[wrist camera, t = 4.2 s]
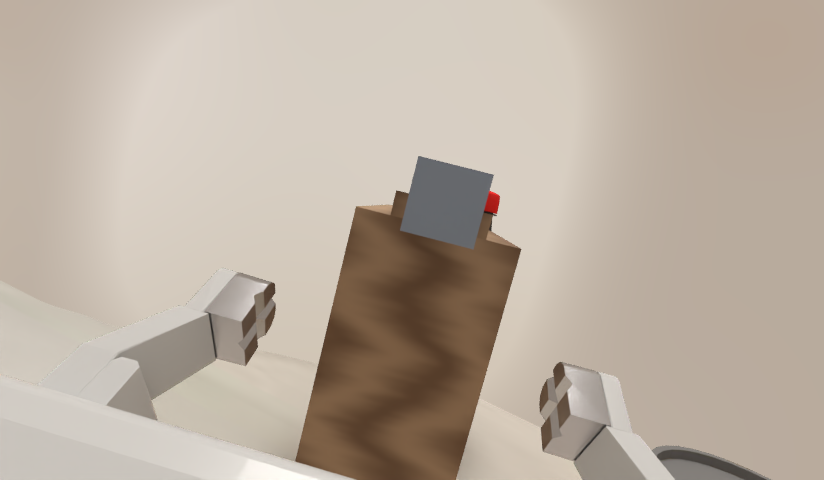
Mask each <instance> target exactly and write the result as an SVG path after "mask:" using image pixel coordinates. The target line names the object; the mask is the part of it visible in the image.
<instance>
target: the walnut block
mask: <svg viewBox="0 0 824 480" xmlns="http://www.w3.org/2000/svg"><path fill="white" fill-rule="evenodd" d="M408 196H409V194H408V193H404V192H401V191H396V195H395V198H394V203H393V206H392V205H376V206H357V207H356V209H355V214H354V218H353V222H352V226H351V230H350V234H349V239H348V243H347V247H346V251H345V255H344V260H343V264H342V268H341V272H340V276H339V281H338V285H337V289H336V293H335V297H334V302H333V306H332V310H331V314H330V318H329V323H328V327H327V331H326V335H325V339H324V343H323V348H322V352H321V356H320V360H319V364H318V369H317V373H316V377H315V381H314V385H313V390H312V394H311V398H310V402H309V406H308V411H307V415H306V419H305V423H304V427H303V432H302V436H301V440H300V444H299V448H298V453H297V457H296V461H295V462H298V463H302V464H305V465H309V466H312V467H315V468H319V469H322V470H325V471H329V472H332V473H336V474H339V475H342V476H346V477H349V478H352V479H356V480H456V477H457V473H458V470H459V466H460V463H461V459H462V456H463V452H464V449H465V445H466V442H467V438H468V435H469V431H470V428H471V424H472V421H473V417H474V414H475V410H476V407H477V403H478V400H479V396H480V392H481V389H482V385H483V382H484V378H485V375H486V371H487V368H488V364H489V360H490V357H491V354H492V350H493V347H494V343H495V340H496V336H497V332H498V329H499V326H500V322H501V319H502V315H503V311H504V308H505V304H506V301H507V298H508V294H509V290H510V287H511V284H512V280H513V277H514V273H515V269H516V266H517V262H518V259H519V255H520V252H521V249H520V248H518V247H517V246H515V245H513V244H512V243H510V242H508V241H507V240H505V239H503V238H502V237H500V236H498V235H496V234H495V233H493V232H491V231H490V230H489V228H490V224H491V220H492V217H493V215H491V214H487V213H483V216H482V220H481V223H480V227H479V231H478V234H477V238H476V242H475V245H474V249H470V248H466V247H462V246H458V245H454V244H450V243H447V242H443V241H439V240H435V239H431V238H427V237H423V236H420V235H416V234H412V233H408V232H404V231H400V228H401V224H402V220H403V216H404V212H405V208H406V204H407V200H408Z"/></svg>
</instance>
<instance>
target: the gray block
mask: <svg viewBox="0 0 824 480" xmlns="http://www.w3.org/2000/svg"><path fill="white" fill-rule="evenodd" d="M493 176H494V175H492V174H488V173H484V172H480V171H476V170H472V169H468V168H464V167H460V166H456V165H452V164H448V163H444V162H440V161H436V160H432V159H428V158H424V157H421V156H419V157H418V160H417V164H416V169H415V173H414V176H413V180H412V184H411V188H410V192H409V196H408V200H407V204H406V208H405V212H404V216H403V220H402V224H401V228H400V231H404V232H408V233H412V234H416V235H420V236H423V237H427V238H431V239H435V240H439V241H443V242H447V243H450V244H454V245H458V246H462V247H466V248H470V249H474V245H475V242H476V238H477V234H478V231H479V227H480V223H481V220H482V216H483V212H484V209H485V205H486V201H487V198H488V194H489V190H490V187H491V183H492V179H493Z"/></svg>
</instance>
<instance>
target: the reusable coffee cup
mask: <svg viewBox="0 0 824 480" xmlns="http://www.w3.org/2000/svg"><path fill="white" fill-rule="evenodd" d="M651 451H652V452H653V453H654V454H655V456H656V457H657V458H658V459H659V460H660V462H661V463H662V464H663V465H664V467H665V468H666V469H667V470H668V471H669V473H670V474H671V475H672V476H673V478H674V479H675V480H771V479H769V478H766V477H764V476H762V475H760V474H758V473H756V472H754V471H752V470H750V469H748V468H745V467H743V466H740V465H738V464H735V463H733V462H730V461H728V460H725V459H723V458H720V457H717V456H714V455H712V454H709V453H705V452H701V451H698V450H694V449H690V448H684V447H679V446H661V447H656V448H655V449H653V450H651Z"/></svg>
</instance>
